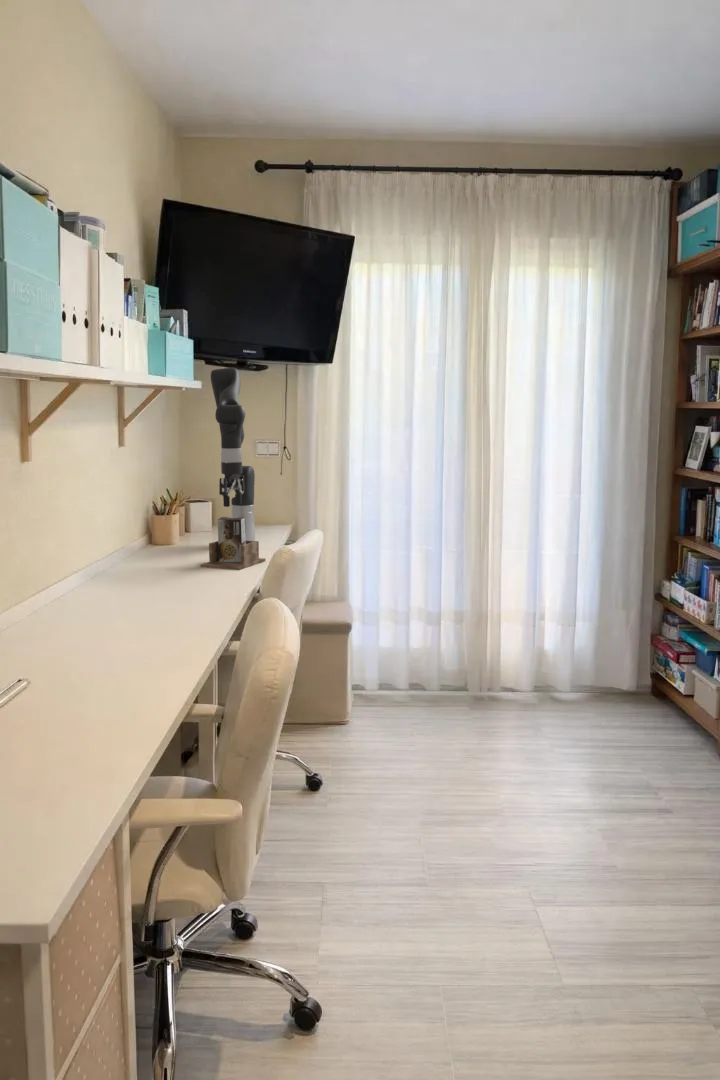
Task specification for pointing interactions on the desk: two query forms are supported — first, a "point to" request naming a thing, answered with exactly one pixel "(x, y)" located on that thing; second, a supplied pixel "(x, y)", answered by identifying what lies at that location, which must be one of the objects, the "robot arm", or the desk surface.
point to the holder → (247, 559)
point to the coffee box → (231, 538)
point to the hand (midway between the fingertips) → (232, 505)
